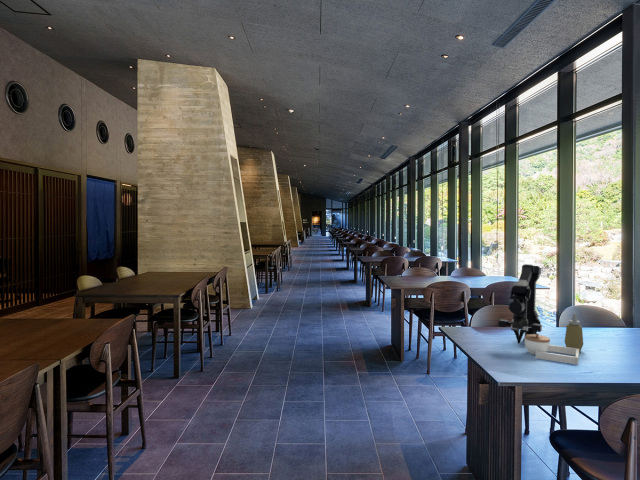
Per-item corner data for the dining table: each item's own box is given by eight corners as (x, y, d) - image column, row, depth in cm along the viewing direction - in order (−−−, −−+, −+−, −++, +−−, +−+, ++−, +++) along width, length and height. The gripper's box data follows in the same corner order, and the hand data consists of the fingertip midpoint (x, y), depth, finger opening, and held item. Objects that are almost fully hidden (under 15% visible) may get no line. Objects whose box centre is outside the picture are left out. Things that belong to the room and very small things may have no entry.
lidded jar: (548, 358, 197) (549, 337, 196) (522, 353, 202) (523, 334, 202) (549, 352, 206) (550, 333, 205) (525, 348, 211) (526, 329, 211)
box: (539, 349, 211) (539, 343, 211) (579, 355, 202) (579, 348, 202) (535, 358, 197) (535, 351, 197) (577, 364, 188) (577, 357, 188)
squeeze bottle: (581, 348, 213) (582, 312, 213) (585, 353, 206) (586, 315, 205) (562, 347, 216) (563, 311, 215) (566, 351, 208) (567, 314, 208)
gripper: (496, 310, 206) (494, 343, 206) (539, 316, 196) (538, 350, 196) (500, 307, 215) (499, 338, 216) (542, 312, 205) (541, 345, 205)
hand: (518, 343), depth 208 cm, fingers closed
